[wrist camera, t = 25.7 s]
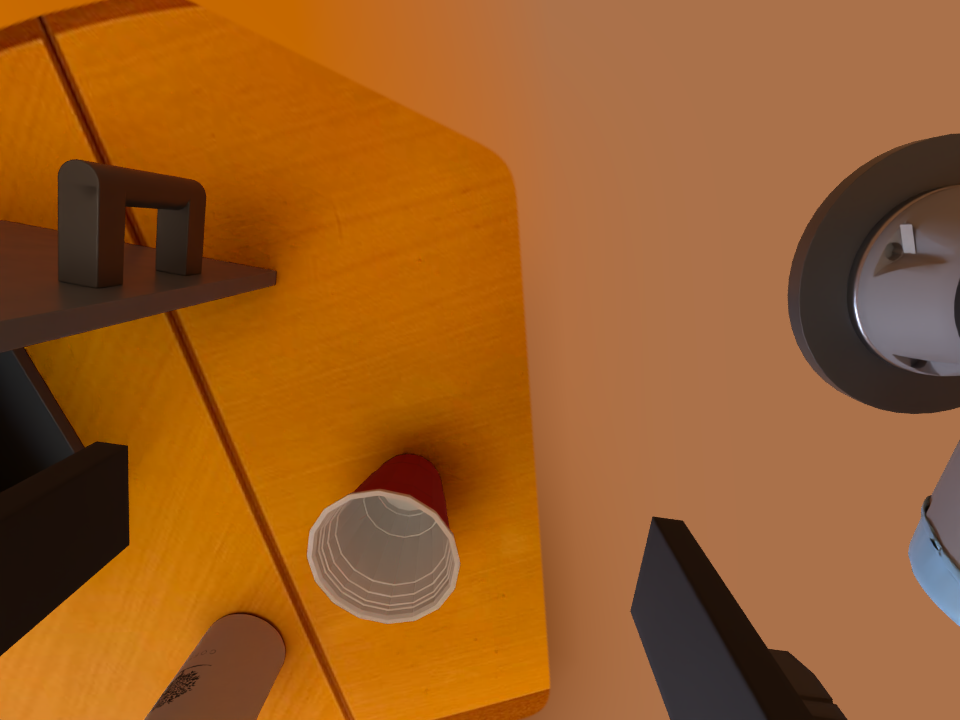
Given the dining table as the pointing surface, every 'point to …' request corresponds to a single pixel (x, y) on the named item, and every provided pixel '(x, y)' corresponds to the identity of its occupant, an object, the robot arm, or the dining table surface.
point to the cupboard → (29, 422)
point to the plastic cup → (387, 545)
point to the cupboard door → (110, 257)
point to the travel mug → (225, 673)
